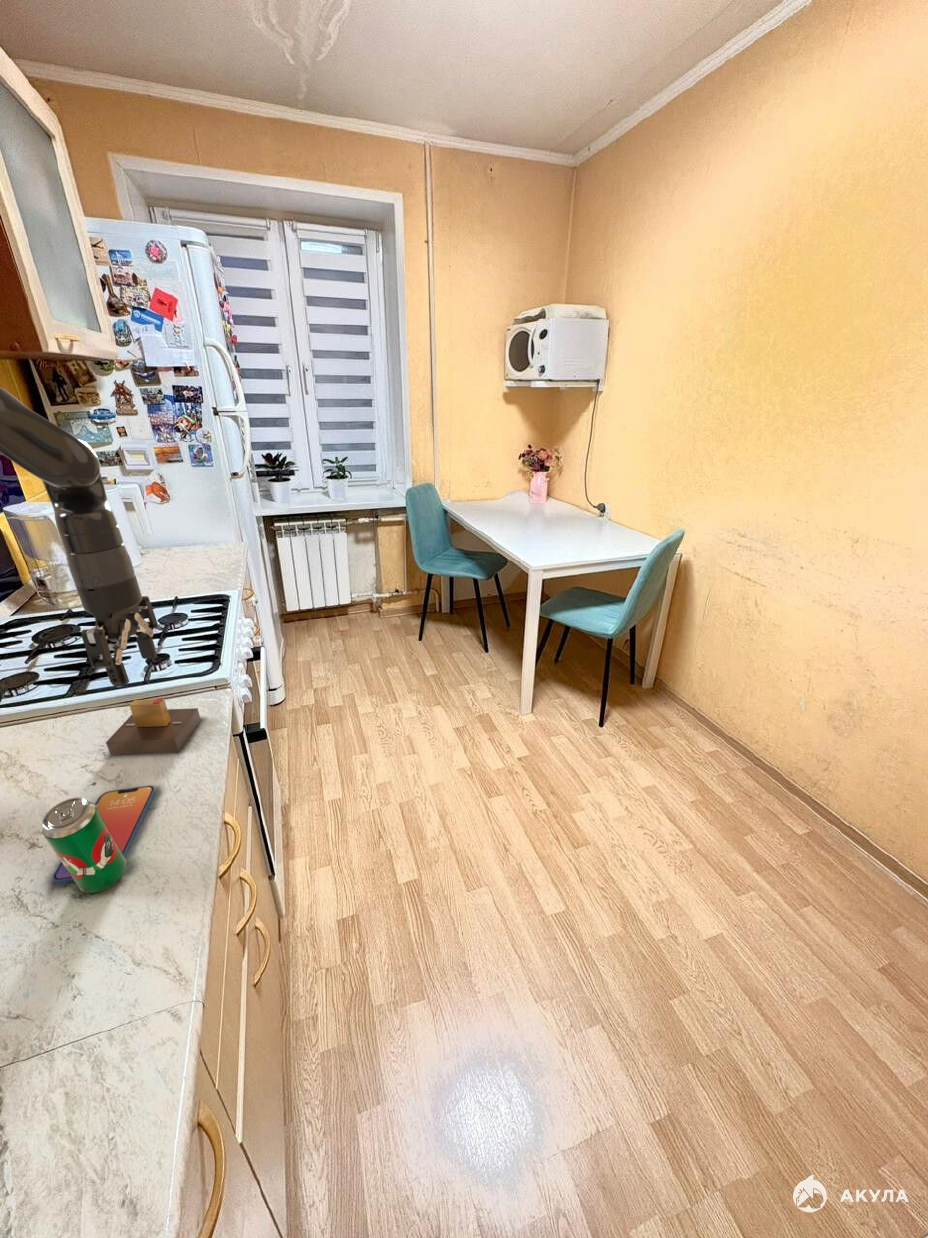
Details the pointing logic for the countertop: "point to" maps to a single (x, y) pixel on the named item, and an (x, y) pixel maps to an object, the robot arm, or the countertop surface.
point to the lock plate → (155, 734)
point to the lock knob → (150, 713)
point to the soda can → (84, 844)
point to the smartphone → (118, 819)
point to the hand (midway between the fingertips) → (136, 670)
